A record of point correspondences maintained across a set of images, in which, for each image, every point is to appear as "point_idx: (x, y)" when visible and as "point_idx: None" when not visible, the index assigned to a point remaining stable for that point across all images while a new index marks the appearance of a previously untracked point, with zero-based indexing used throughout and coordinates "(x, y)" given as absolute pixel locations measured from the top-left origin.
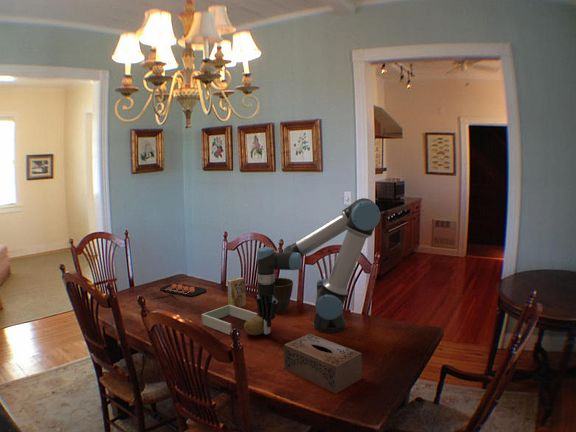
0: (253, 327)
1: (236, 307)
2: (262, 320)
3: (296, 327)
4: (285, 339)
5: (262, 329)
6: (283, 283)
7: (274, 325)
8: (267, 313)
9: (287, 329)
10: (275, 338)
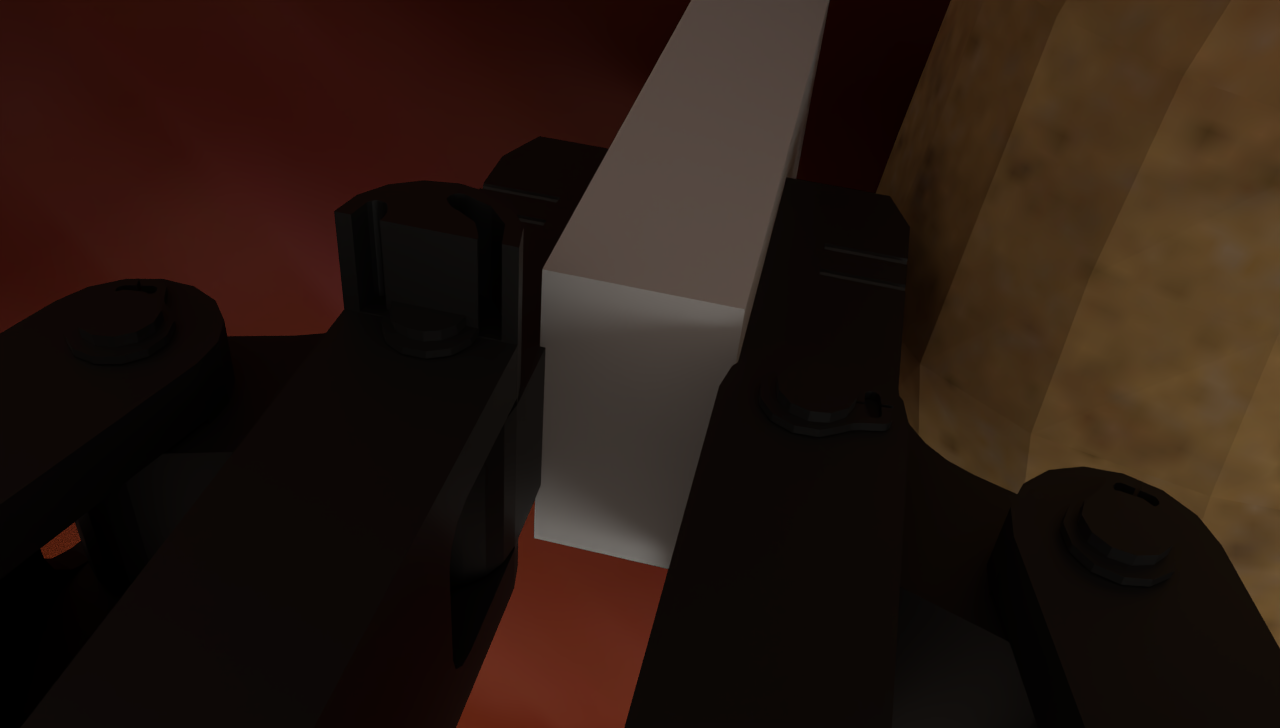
0: None
1: None
2: (1020, 429)
3: (536, 719)
4: (264, 155)
5: (925, 82)
6: None
7: None
8: (151, 649)
9: (624, 612)
10: (514, 85)
